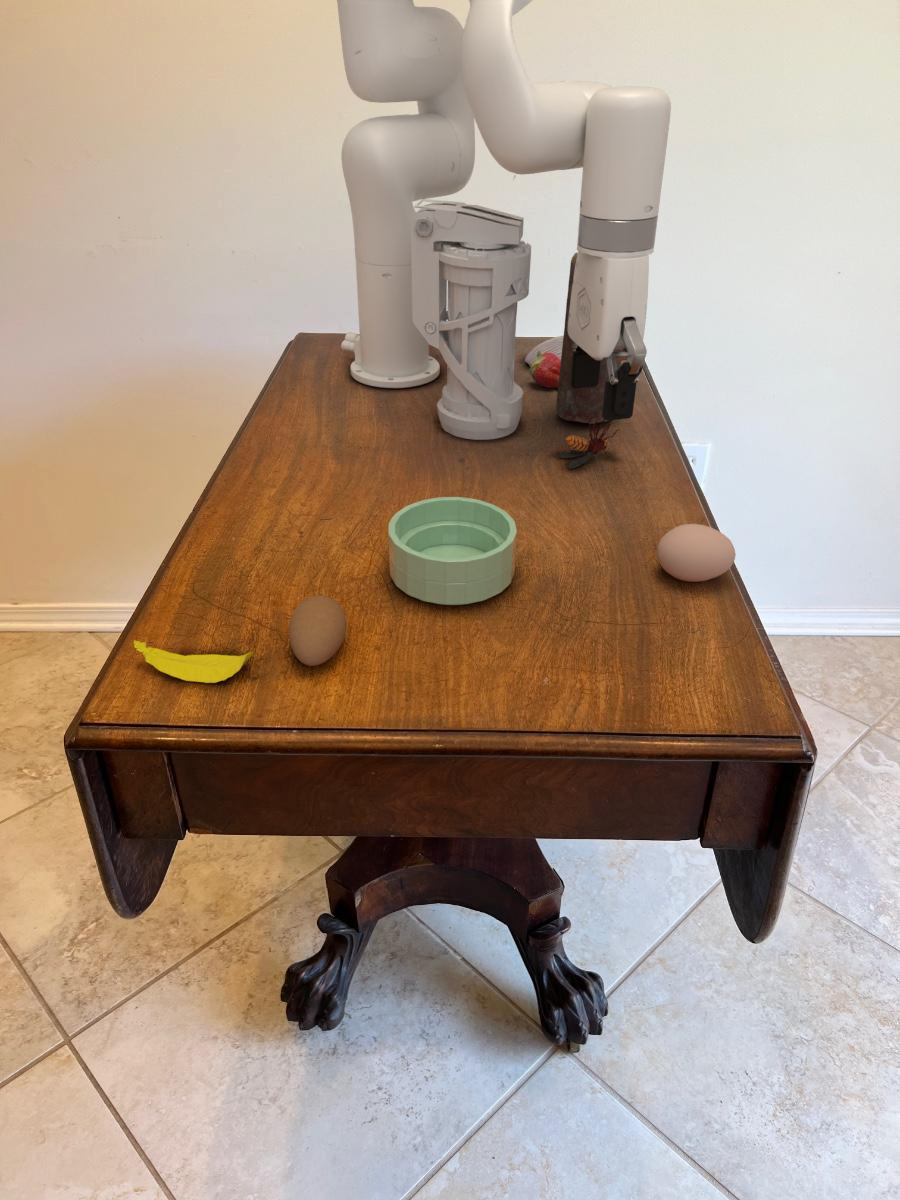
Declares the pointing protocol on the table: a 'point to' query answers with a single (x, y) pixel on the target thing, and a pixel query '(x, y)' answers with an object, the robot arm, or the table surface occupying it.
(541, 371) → the fruit
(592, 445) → the insect
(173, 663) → the yellow banana
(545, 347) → the seashell
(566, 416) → the candle
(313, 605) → the egg
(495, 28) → the robot arm
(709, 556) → the egg
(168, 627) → the table surface
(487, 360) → the lantern
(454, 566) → the bowl
